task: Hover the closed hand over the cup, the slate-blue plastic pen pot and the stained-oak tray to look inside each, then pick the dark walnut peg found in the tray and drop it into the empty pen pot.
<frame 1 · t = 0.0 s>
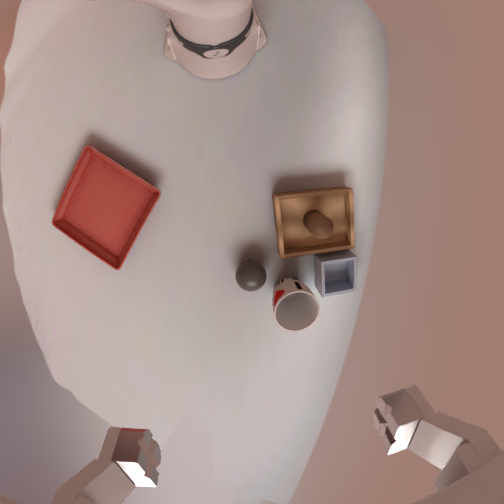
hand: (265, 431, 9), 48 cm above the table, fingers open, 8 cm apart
walnut peg: (313, 220, 56), point 1 cm above the table, touching oak tray
cup: (287, 287, 61), on the table
plant saucer: (107, 205, 53), on the table
dark gray ball: (250, 270, 59), on the table
oak tray: (312, 219, 56), on the table
pen pot: (331, 267, 60), on the table
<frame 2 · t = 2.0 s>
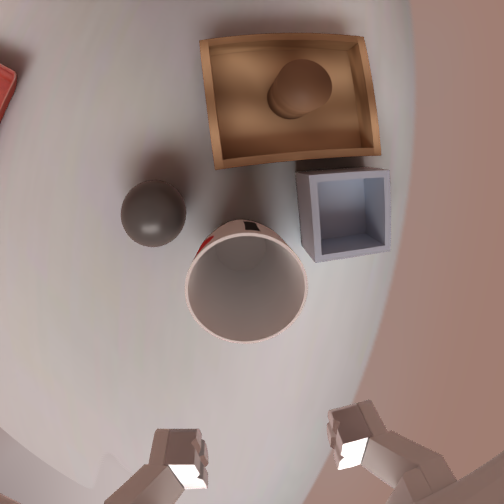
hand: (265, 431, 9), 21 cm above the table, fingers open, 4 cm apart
walnut peg: (289, 98, 24), point 1 cm above the table, touching oak tray
cup: (240, 247, 29), on the table
dark gray ball: (160, 207, 27), on the table
oak tray: (287, 100, 25), on the table
pen pot: (334, 205, 28), on the table
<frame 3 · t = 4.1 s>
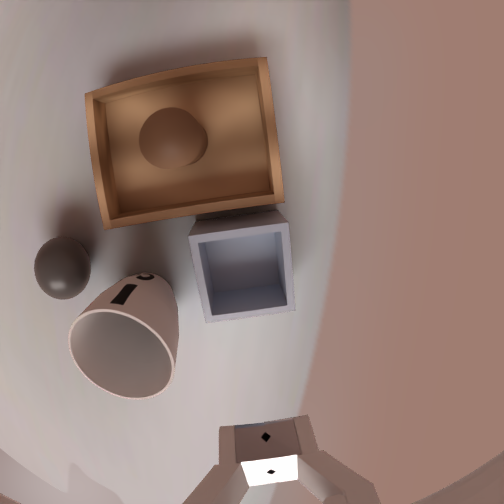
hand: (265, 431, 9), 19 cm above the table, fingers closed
walnut peg: (183, 142, 23), point 1 cm above the table, touching oak tray
cup: (149, 295, 28), on the table
dark gray ball: (75, 257, 26), on the table
oak tray: (185, 142, 24), on the table
pen pot: (242, 254, 27), on the table
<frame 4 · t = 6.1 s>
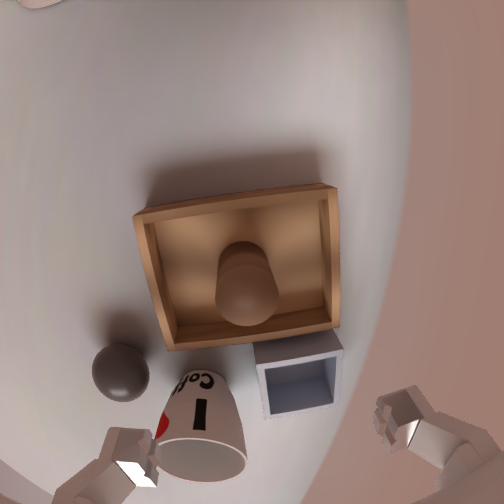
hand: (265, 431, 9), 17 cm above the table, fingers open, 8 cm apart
walnut peg: (243, 264, 24), point 1 cm above the table, touching oak tray
cup: (203, 386, 29), on the table
dark gray ball: (128, 355, 27), on the table
oak tray: (242, 261, 25), on the table
pen pot: (291, 354, 28), on the table
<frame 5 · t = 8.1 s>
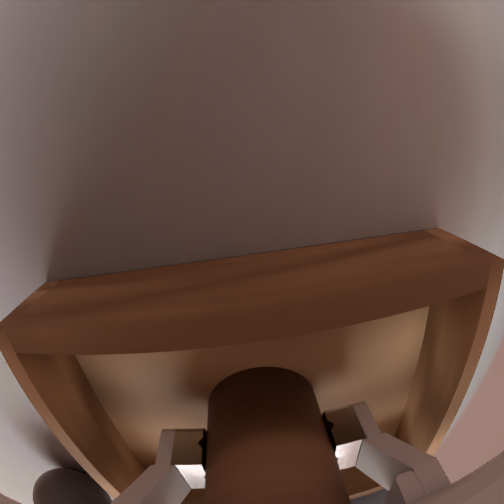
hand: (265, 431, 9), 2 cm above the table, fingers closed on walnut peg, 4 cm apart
walnut peg: (261, 405, 10), point 1 cm above the table, touching gripper, oak tray
dark gray ball: (83, 475, 13), on the table
oak tray: (260, 391, 11), on the table
pen pot: (330, 482, 14), on the table
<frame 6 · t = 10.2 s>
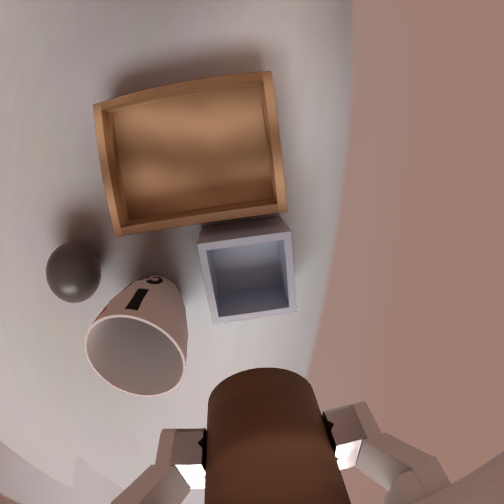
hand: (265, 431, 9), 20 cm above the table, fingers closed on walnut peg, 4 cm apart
walnut peg: (261, 406, 10), point 19 cm above the table, touching gripper
cup: (157, 297, 29), on the table
dark gray ball: (85, 261, 27), on the table
oak tray: (191, 152, 25), on the table
pen pot: (245, 258, 29), on the table
when the fingers open (9 cm above the table, at t = 12.4 s): walnut peg drops 6 cm, resting on pen pot.
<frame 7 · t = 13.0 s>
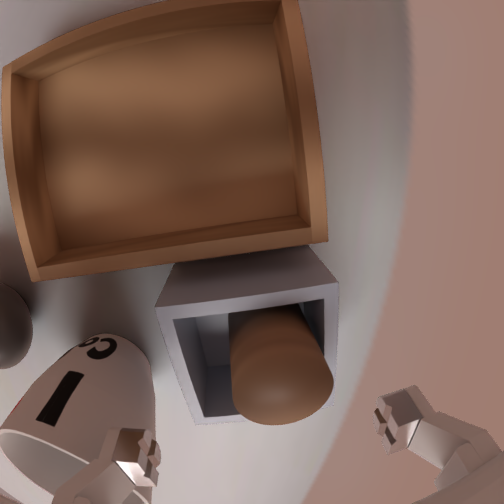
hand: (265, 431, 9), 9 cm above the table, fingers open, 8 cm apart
walnut peg: (264, 317, 16), point 1 cm above the table, touching pen pot
cup: (117, 362, 18), on the table
dark gray ball: (16, 306, 16), on the table
oak tray: (154, 134, 14), on the table
pen pot: (249, 312, 17), on the table
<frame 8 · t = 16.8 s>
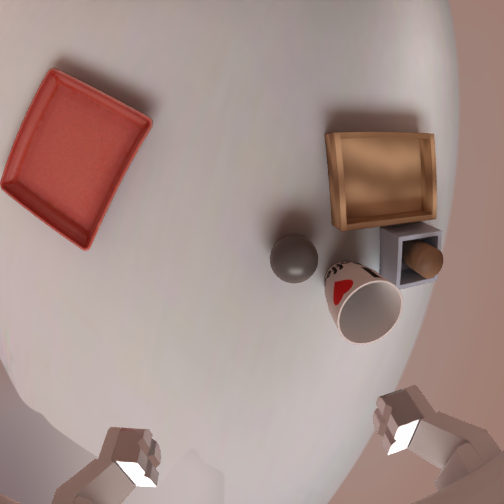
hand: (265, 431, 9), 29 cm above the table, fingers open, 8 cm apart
walnut peg: (408, 249, 38), point 1 cm above the table, touching pen pot
cup: (341, 278, 40), on the table
plant saucer: (74, 154, 32), on the table
dark gray ball: (289, 251, 38), on the table
oak tray: (379, 176, 36), on the table
pen pot: (401, 248, 39), on the table
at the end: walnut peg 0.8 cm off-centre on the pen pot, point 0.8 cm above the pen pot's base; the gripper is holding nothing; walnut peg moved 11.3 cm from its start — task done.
